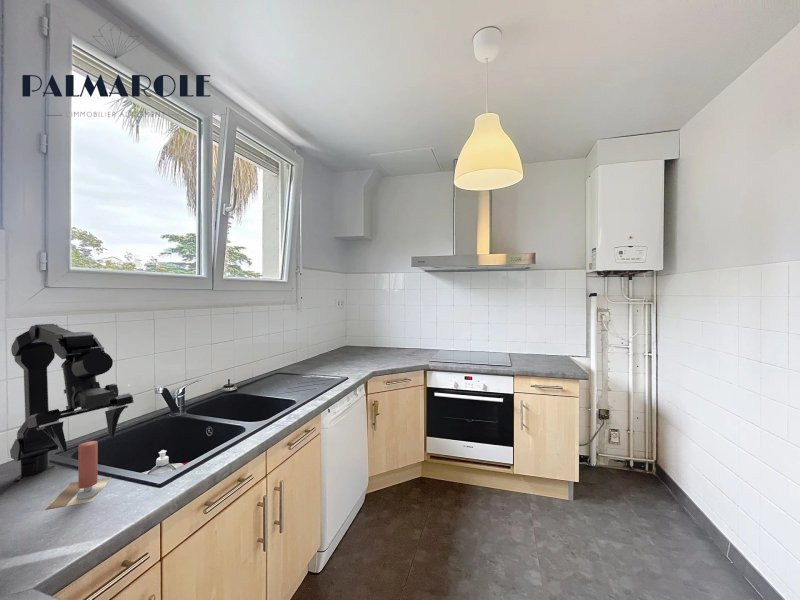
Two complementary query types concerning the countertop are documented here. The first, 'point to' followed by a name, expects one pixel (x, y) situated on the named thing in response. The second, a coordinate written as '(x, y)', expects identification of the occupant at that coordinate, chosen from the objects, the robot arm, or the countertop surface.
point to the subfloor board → (75, 494)
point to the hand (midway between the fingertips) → (89, 444)
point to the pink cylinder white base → (87, 470)
